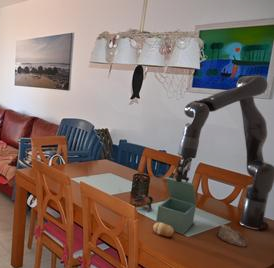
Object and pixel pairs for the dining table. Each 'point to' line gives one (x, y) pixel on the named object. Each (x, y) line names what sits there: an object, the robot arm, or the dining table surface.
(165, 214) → the bin
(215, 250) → the dining table surface
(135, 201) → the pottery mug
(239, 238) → the oyster shell
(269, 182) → the robot arm
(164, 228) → the potato
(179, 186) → the bin lid
